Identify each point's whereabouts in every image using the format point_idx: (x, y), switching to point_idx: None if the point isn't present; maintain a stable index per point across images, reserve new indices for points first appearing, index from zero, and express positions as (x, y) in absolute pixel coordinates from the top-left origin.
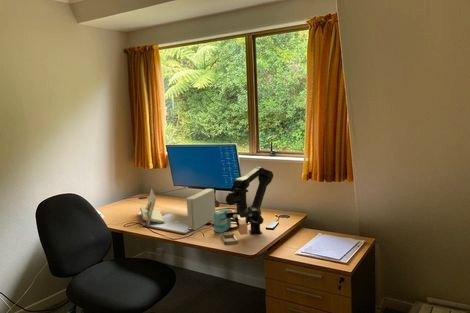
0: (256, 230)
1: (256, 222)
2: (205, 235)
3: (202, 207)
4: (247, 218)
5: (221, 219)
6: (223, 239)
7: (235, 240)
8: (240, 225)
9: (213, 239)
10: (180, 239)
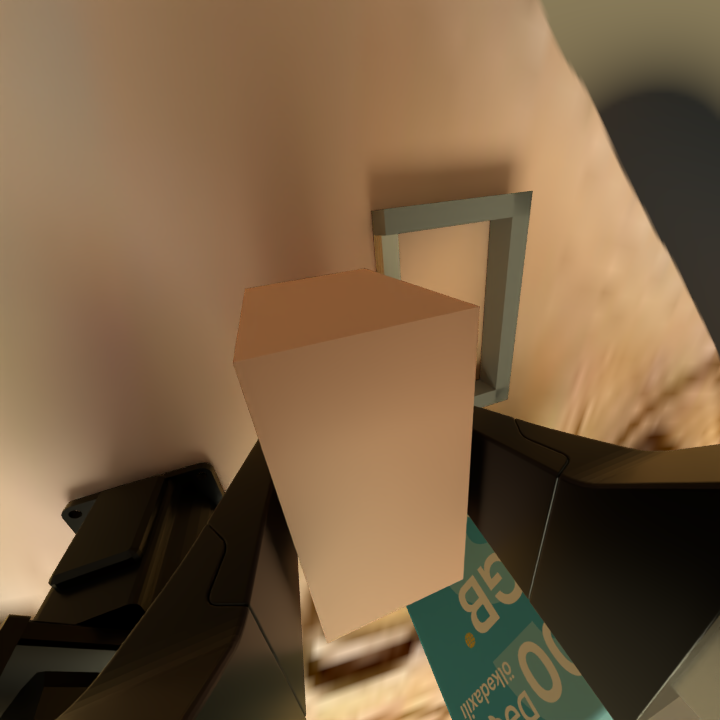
0: (123, 510)
1: (68, 663)
2: (570, 424)
3: (660, 715)
4: (202, 681)
5: None
6: (521, 280)
7: (413, 223)
8: (453, 301)
9: (551, 348)
10: (699, 359)
